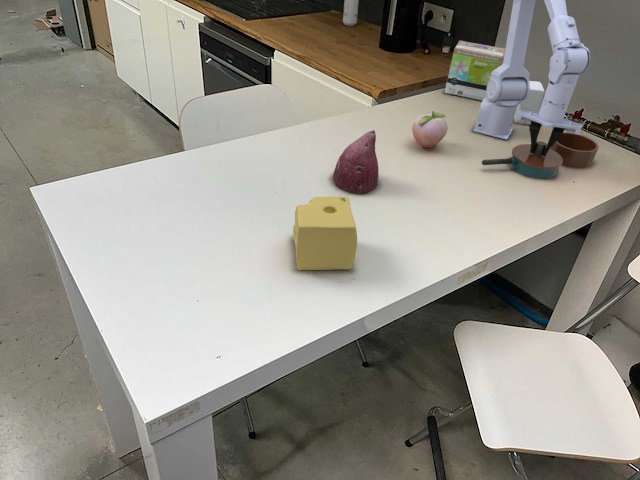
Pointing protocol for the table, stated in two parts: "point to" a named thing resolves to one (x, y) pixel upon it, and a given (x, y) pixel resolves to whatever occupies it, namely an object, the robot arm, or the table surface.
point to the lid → (537, 156)
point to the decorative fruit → (429, 129)
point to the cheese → (325, 234)
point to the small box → (531, 101)
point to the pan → (534, 171)
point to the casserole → (575, 150)
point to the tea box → (472, 69)
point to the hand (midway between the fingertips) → (538, 153)
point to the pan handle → (500, 161)
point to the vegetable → (358, 166)
